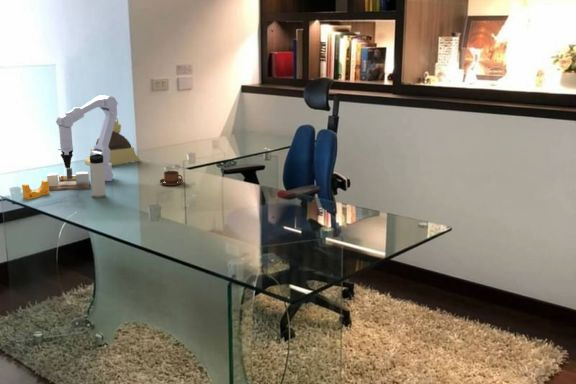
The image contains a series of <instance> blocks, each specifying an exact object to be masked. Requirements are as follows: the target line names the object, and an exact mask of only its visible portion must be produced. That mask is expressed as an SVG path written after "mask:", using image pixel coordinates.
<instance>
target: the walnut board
mask: <svg viewBox="0 0 576 384" xmlns="http://www.w3.org/2000/svg"><path fill="white" fill-rule="evenodd" d="M89 187H90V184H89V185H76V181H66V182H59V180H58V186H49V192H50V191H68V190H70V191H71V190H87V189H90V188H89Z"/></svg>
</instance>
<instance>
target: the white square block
mask: <svg viewBox="0 0 576 384" xmlns="http://www.w3.org/2000/svg"><path fill="white" fill-rule="evenodd" d="M46 179H47V181H48V182H49V186H58V181H59V175H58V172H48V173H47V175H46Z"/></svg>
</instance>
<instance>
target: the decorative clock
mask: <svg viewBox="0 0 576 384" xmlns="http://www.w3.org/2000/svg"><path fill="white" fill-rule="evenodd" d="M121 128H122V125H121V123H120V124H119V119H118V118H117V117H116V121H115V124H114V128H113V131H112V135H111V139H110V142H109V146H108V147H109V149H110V160H109V162H108V163H112V166H116V165H124V164H123V163H125V164H129V163H128V162H132V161H139V162H140V157H138V156H137V155H136V151H135V147H133V146H132V144H131V143H130V141H129V139H127V138H126V136H124V135H122V134H121V130H122V129H121ZM98 141H99V137H98V138H97V139H96V142H95V145H97V144H98ZM93 149H94V148H90V153H91V152H92V150H93ZM132 163H133V162H132ZM84 164H85V165H88V166H89V167H90V155H89V156H88V157H87V158H86V159H85V160H84Z"/></svg>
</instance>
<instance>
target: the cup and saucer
mask: <svg viewBox="0 0 576 384" xmlns="http://www.w3.org/2000/svg"><path fill="white" fill-rule="evenodd" d="M179 173H180V172H179V171H176V170H166V171H164V172H163V178H161V179H160V180H159V183H160V184H161V185H165V186H179V185H181V184H182V183H183V182H184V178H183V176H182V175H181V174H179ZM164 181H165V182H166V183H163V182H164ZM177 182H178V183H177Z"/></svg>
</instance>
